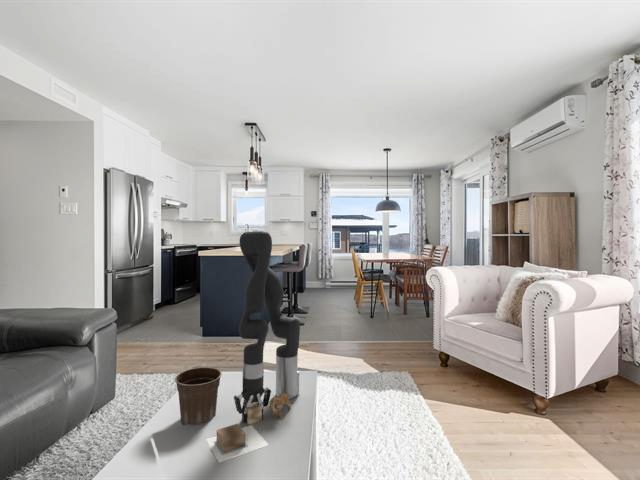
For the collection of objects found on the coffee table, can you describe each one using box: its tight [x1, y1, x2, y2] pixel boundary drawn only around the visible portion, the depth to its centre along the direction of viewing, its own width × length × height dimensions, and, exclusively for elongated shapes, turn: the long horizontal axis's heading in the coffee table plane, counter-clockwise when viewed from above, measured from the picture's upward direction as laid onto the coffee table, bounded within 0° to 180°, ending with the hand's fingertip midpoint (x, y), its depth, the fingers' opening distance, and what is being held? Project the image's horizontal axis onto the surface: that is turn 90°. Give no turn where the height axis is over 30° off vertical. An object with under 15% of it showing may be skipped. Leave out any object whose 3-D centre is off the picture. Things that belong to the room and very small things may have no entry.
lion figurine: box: [268, 394, 292, 420], centre depth 131 cm, size 15×5×9 cm, turn 166°
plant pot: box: [174, 366, 223, 426], centre depth 127 cm, size 16×16×16 cm
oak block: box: [246, 402, 263, 425], centre depth 125 cm, size 5×5×6 cm
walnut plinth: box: [216, 423, 245, 453], centre depth 110 cm, size 7×7×4 cm
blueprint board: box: [205, 424, 270, 464], centre depth 111 cm, size 16×14×1 cm
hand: (252, 420), depth 125 cm, fingers closed on oak block, 5 cm apart
